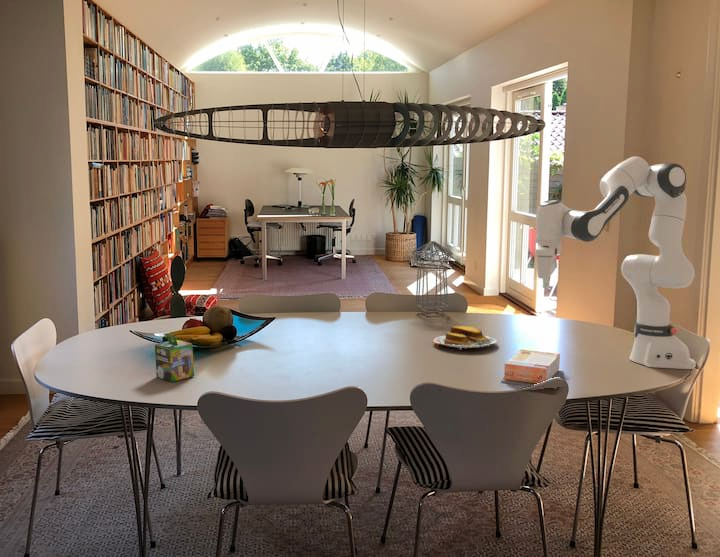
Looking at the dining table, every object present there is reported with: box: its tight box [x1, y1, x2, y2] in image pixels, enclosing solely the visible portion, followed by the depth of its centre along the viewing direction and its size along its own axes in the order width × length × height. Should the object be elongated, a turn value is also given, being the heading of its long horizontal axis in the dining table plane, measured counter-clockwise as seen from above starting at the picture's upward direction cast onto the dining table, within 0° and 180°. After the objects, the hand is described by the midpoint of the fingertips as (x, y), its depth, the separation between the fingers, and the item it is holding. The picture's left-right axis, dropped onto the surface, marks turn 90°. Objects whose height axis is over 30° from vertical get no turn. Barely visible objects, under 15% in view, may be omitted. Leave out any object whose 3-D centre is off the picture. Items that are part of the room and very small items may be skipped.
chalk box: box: [154, 333, 195, 383], centre depth 241 cm, size 9×9×15 cm
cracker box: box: [503, 349, 561, 384], centre depth 246 cm, size 14×6×21 cm
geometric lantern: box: [411, 240, 454, 318], centre depth 340 cm, size 16×16×35 cm
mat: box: [501, 370, 565, 387], centre depth 245 cm, size 18×20×1 cm
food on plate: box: [432, 325, 498, 350], centre depth 287 cm, size 25×25×7 cm
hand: (546, 287), depth 251 cm, fingers closed
